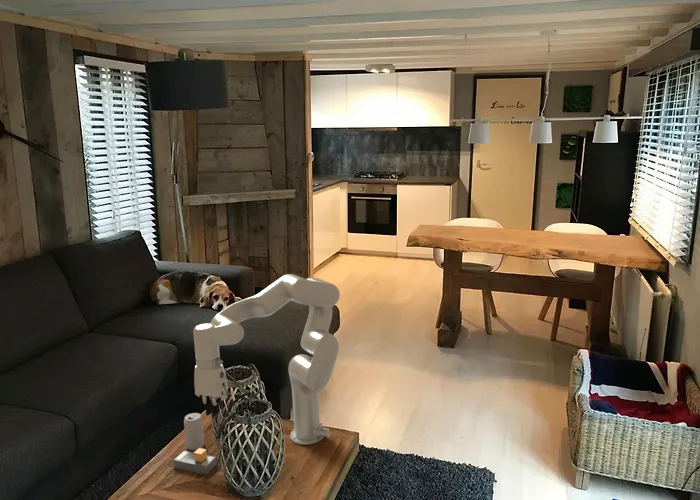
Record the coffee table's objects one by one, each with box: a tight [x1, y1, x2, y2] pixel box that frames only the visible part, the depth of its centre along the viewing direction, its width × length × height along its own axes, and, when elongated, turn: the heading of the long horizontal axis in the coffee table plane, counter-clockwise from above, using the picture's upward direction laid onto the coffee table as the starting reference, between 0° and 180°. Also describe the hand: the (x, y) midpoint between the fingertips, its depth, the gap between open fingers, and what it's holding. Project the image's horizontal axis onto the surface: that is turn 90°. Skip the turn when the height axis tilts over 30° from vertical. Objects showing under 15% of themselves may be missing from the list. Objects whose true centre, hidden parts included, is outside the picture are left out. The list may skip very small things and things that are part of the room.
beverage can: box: [183, 412, 205, 451], centre depth 206 cm, size 6×6×12 cm
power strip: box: [173, 450, 218, 476], centre depth 194 cm, size 13×6×3 cm, turn 69°
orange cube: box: [193, 447, 208, 462], centre depth 193 cm, size 3×3×3 cm
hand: (212, 413), depth 187 cm, fingers closed
